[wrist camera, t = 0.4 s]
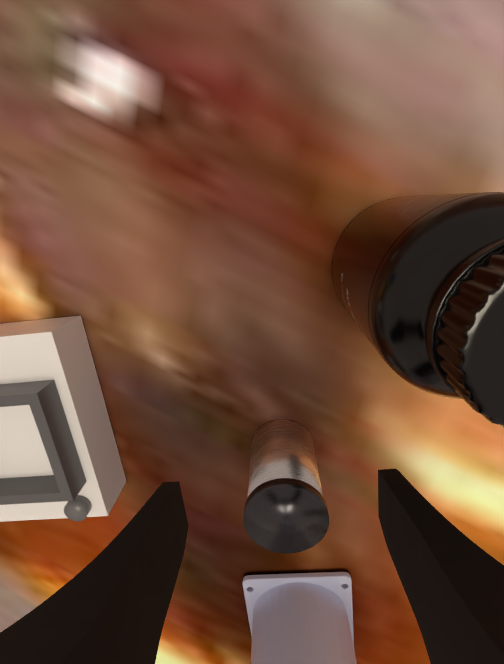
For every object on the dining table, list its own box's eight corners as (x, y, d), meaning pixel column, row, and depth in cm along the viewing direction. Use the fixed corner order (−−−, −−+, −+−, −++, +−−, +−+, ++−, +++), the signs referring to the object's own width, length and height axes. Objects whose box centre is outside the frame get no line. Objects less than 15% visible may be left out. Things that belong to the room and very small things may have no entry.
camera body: (126, 481, 25) (96, 536, 21) (18, 487, 26) (-33, 542, 21) (80, 315, 21) (33, 341, 17) (-45, 328, 22) (-121, 356, 18)
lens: (316, 470, 24) (331, 551, 18) (254, 474, 24) (248, 554, 19) (312, 415, 23) (327, 484, 17) (246, 420, 23) (238, 489, 17)
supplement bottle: (308, 297, 20) (357, 411, 9) (367, 175, 18) (532, 117, 7) (417, 343, 21) (593, 505, 9) (487, 230, 19) (827, 263, 7)
